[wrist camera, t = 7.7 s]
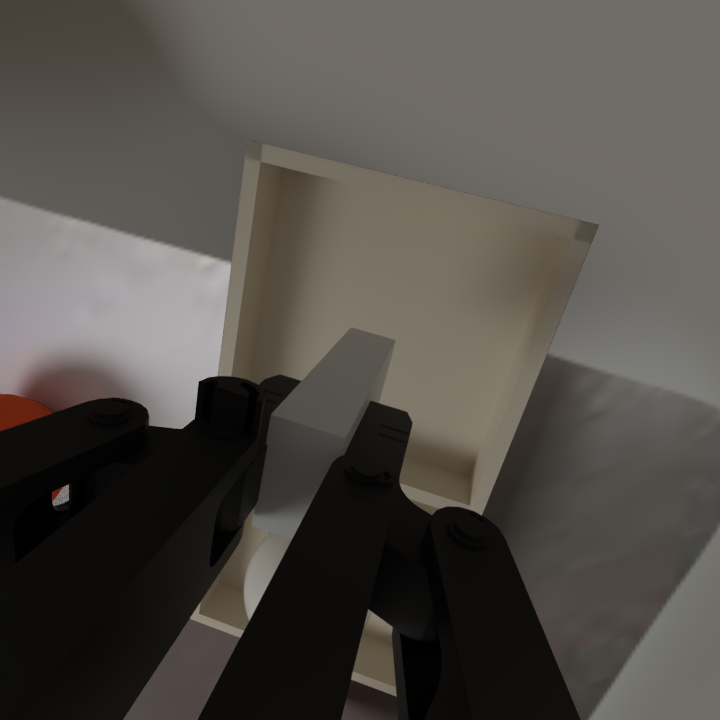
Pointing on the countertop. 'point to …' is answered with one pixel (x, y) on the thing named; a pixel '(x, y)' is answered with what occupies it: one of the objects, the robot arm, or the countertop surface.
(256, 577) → the white ball
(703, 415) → the countertop surface
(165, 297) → the countertop surface
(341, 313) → the divided tray
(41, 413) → the clementine
